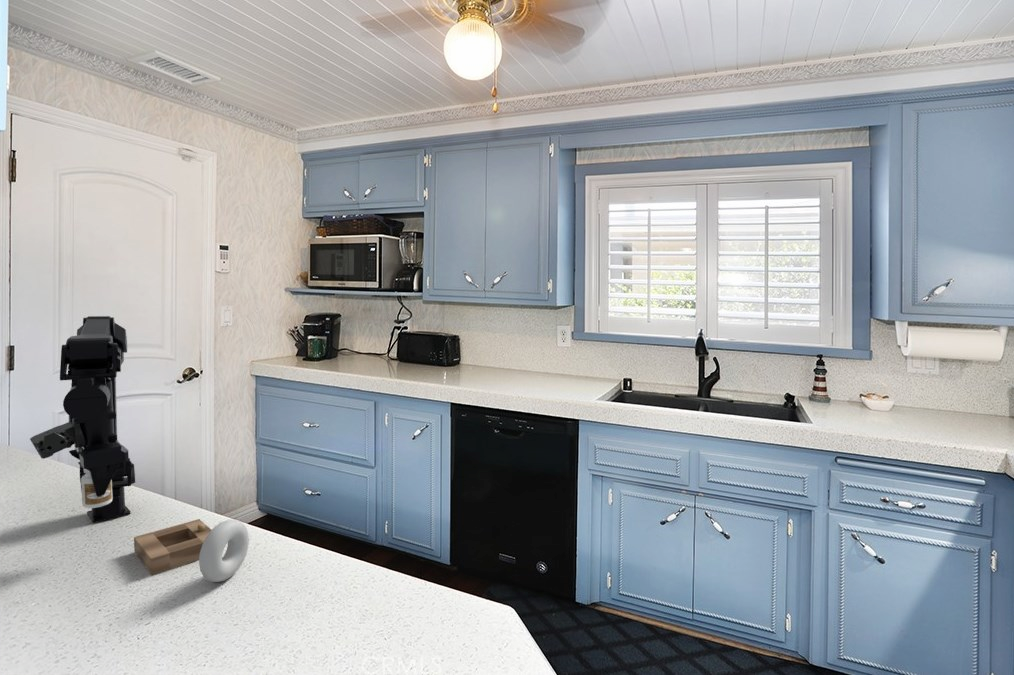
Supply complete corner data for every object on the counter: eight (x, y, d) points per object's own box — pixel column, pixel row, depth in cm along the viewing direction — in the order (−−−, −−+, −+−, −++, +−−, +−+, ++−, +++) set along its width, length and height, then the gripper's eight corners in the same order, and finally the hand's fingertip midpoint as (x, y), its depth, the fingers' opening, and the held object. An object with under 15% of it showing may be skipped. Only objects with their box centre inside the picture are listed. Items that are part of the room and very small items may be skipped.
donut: (213, 595, 86) (211, 536, 85) (194, 592, 87) (192, 534, 86) (254, 564, 96) (252, 511, 95) (237, 562, 97) (235, 508, 96)
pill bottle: (86, 511, 94) (84, 468, 93) (79, 503, 97) (76, 462, 96) (116, 503, 97) (114, 462, 97) (108, 496, 100) (106, 456, 99)
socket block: (134, 552, 99) (133, 531, 99) (199, 533, 107) (199, 514, 107) (151, 575, 92) (150, 553, 91) (220, 552, 100) (219, 532, 99)
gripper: (25, 405, 96) (31, 489, 97) (41, 425, 83) (47, 522, 85) (102, 396, 104) (106, 474, 105) (127, 414, 91) (131, 502, 93)
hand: (97, 491), depth 97 cm, fingers closed on pill bottle, 4 cm apart
